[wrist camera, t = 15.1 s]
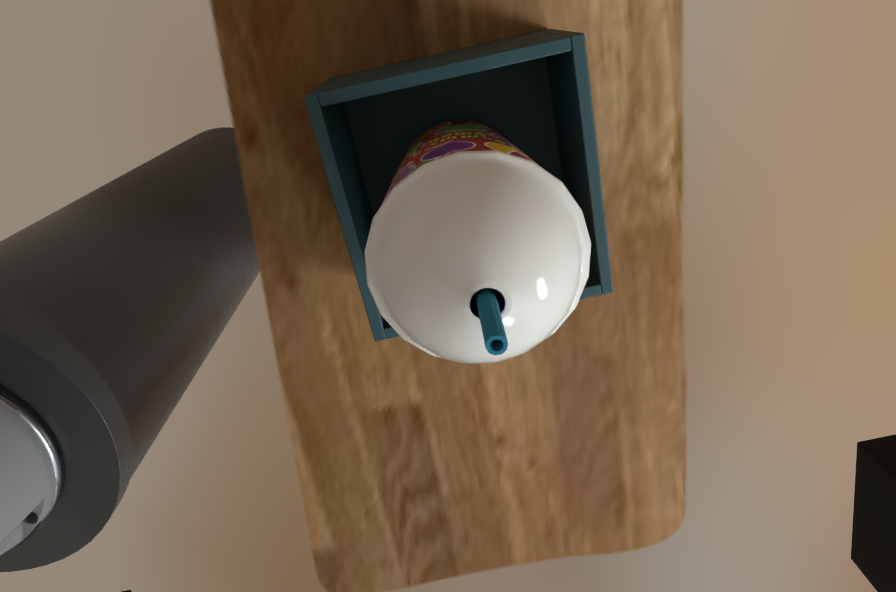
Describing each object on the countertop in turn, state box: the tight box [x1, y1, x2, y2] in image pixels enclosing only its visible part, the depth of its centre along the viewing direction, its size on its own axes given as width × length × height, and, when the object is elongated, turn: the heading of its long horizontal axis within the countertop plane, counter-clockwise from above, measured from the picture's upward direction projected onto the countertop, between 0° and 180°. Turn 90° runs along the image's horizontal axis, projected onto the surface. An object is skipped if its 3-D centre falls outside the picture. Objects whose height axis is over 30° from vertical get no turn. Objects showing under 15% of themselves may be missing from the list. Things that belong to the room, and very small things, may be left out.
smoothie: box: [364, 120, 591, 364], centre depth 27 cm, size 8×8×20 cm
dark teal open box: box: [304, 29, 613, 341], centre depth 33 cm, size 12×12×8 cm
